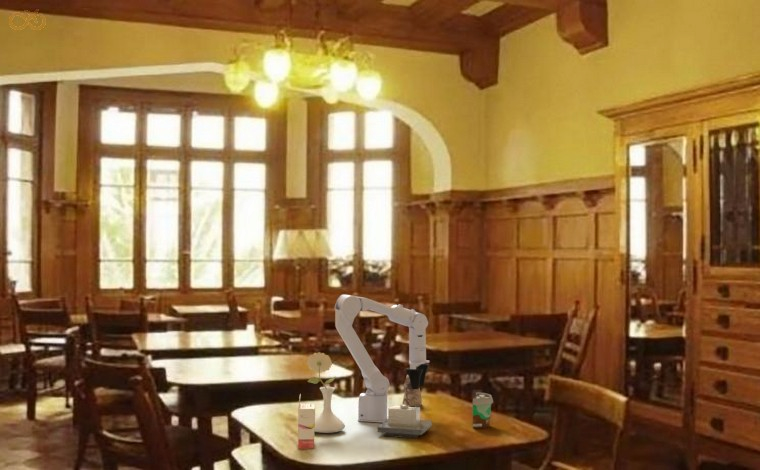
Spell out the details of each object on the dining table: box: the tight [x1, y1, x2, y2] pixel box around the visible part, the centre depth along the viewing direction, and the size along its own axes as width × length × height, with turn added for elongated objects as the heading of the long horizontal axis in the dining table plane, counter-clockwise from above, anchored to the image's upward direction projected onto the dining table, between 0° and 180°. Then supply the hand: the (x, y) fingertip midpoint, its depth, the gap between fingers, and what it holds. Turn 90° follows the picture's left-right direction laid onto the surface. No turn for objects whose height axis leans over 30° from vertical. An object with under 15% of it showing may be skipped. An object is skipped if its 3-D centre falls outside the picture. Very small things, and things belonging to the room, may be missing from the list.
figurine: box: [401, 374, 423, 407], centre depth 313 cm, size 7×7×12 cm
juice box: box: [297, 393, 316, 450], centre depth 250 cm, size 9×5×15 cm, turn 5°
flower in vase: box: [305, 351, 346, 434], centre depth 268 cm, size 13×11×25 cm
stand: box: [377, 419, 433, 439], centre depth 266 cm, size 14×14×3 cm
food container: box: [472, 391, 494, 429], centre depth 278 cm, size 12×6×10 cm, turn 168°
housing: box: [387, 404, 421, 426], centre depth 266 cm, size 5×9×6 cm, turn 74°
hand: (418, 387), depth 290 cm, fingers open, 7 cm apart
